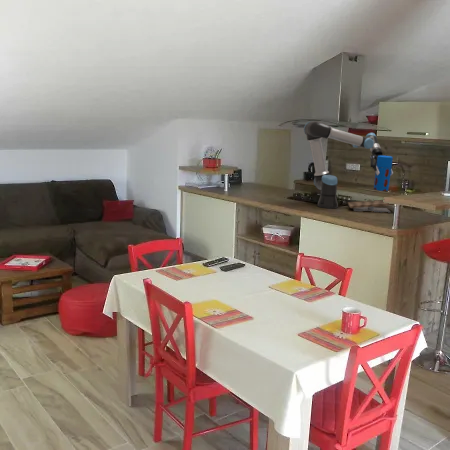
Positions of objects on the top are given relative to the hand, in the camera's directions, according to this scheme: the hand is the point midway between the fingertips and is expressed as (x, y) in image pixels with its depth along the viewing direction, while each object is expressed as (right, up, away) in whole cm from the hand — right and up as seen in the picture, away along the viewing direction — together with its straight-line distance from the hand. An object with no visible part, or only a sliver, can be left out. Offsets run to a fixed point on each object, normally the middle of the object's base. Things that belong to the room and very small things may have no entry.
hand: (385, 174), depth 377 cm
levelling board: (-11, -22, -2) cm, 25 cm away
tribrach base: (-11, -27, -1) cm, 29 cm away
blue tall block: (-1, -11, +6) cm, 13 cm away
